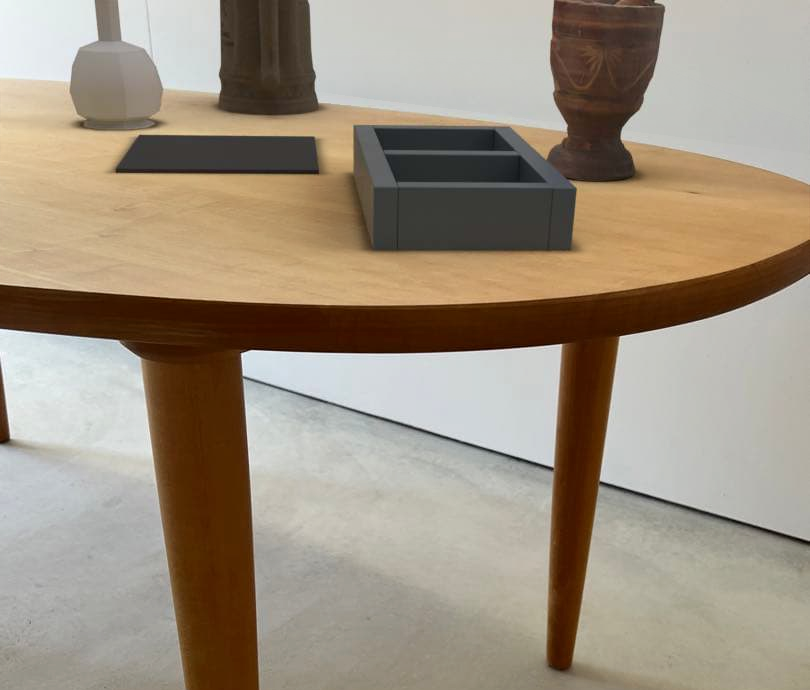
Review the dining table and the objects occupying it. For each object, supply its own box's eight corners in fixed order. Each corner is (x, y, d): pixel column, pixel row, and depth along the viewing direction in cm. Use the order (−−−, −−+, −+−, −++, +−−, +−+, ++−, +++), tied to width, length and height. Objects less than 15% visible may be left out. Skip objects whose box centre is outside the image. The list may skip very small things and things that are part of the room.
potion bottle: (174, 120, 112) (159, -84, 103) (148, 135, 104) (129, -86, 95) (89, 117, 112) (67, -87, 104) (57, 131, 105) (30, -88, 96)
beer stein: (209, 101, 124) (199, -106, 113) (303, 99, 127) (302, -103, 116) (235, 134, 112) (226, -95, 101) (338, 131, 115) (341, -91, 104)
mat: (116, 175, 88) (115, 168, 87) (139, 140, 101) (139, 134, 101) (318, 176, 89) (318, 169, 89) (314, 141, 103) (314, 136, 103)
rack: (373, 253, 69) (373, 186, 67) (353, 177, 89) (353, 124, 87) (570, 253, 70) (577, 187, 68) (506, 178, 90) (510, 126, 88)
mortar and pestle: (617, 158, 99) (647, -99, 89) (691, 175, 93) (731, -99, 83) (518, 170, 93) (538, -105, 83) (590, 189, 87) (620, -105, 77)
